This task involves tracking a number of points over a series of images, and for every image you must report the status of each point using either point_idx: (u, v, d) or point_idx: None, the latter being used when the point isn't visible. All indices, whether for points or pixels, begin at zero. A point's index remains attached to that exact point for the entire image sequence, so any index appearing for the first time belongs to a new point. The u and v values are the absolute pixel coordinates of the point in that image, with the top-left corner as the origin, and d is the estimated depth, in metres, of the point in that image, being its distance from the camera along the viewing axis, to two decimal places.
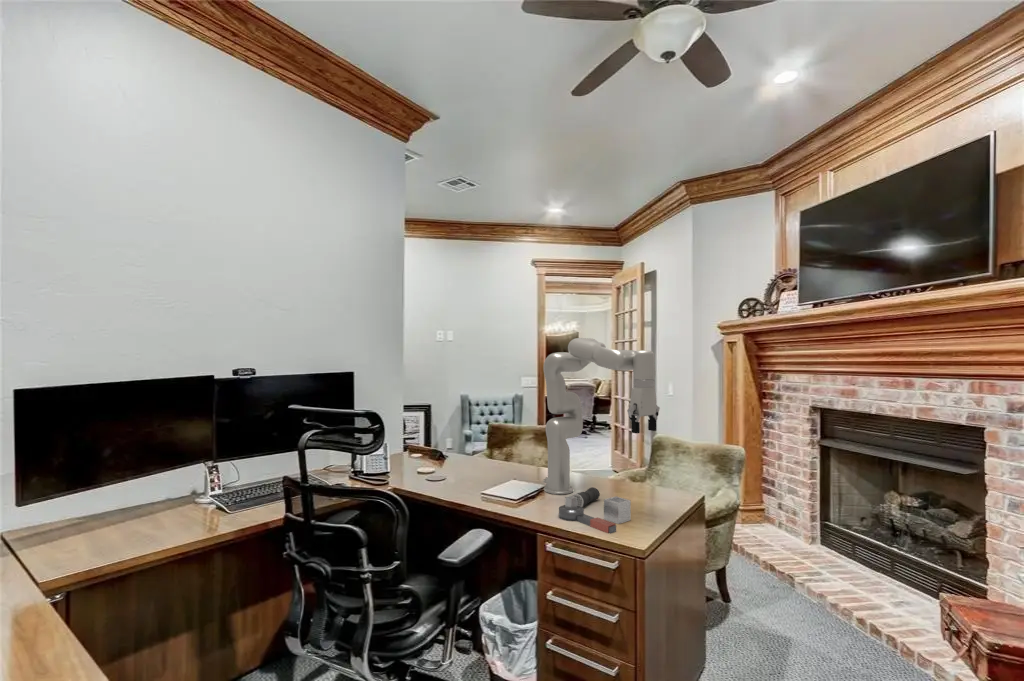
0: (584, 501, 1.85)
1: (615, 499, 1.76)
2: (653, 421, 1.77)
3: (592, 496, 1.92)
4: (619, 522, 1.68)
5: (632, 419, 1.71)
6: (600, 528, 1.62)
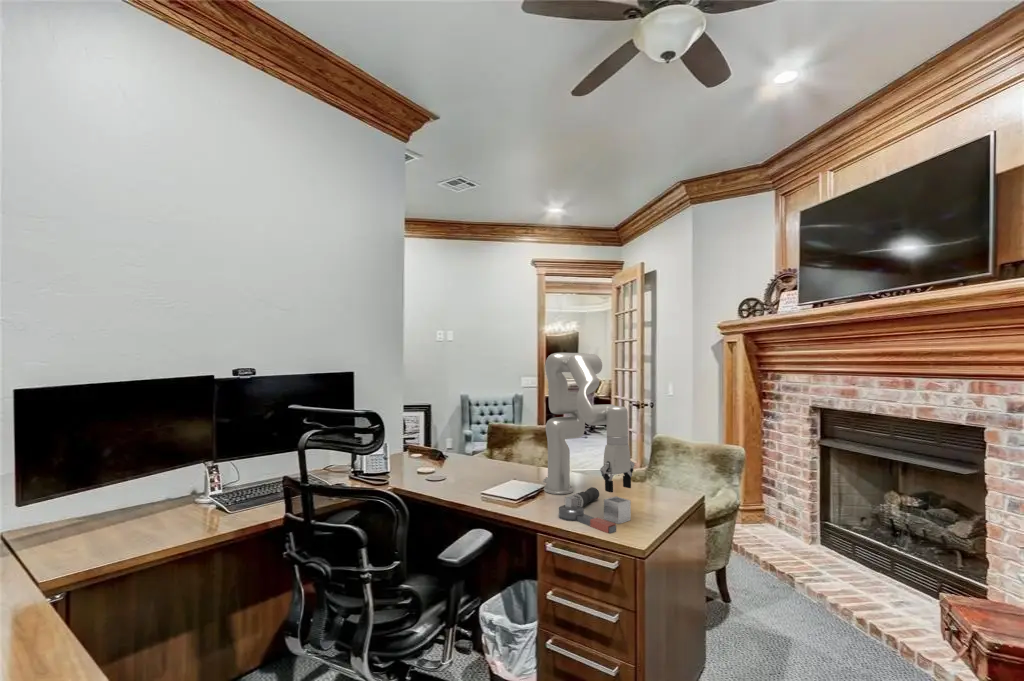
0: (584, 501, 1.85)
1: (615, 499, 1.76)
2: (628, 478, 1.75)
3: (592, 496, 1.92)
4: (619, 522, 1.68)
5: (605, 478, 1.69)
6: (600, 528, 1.62)
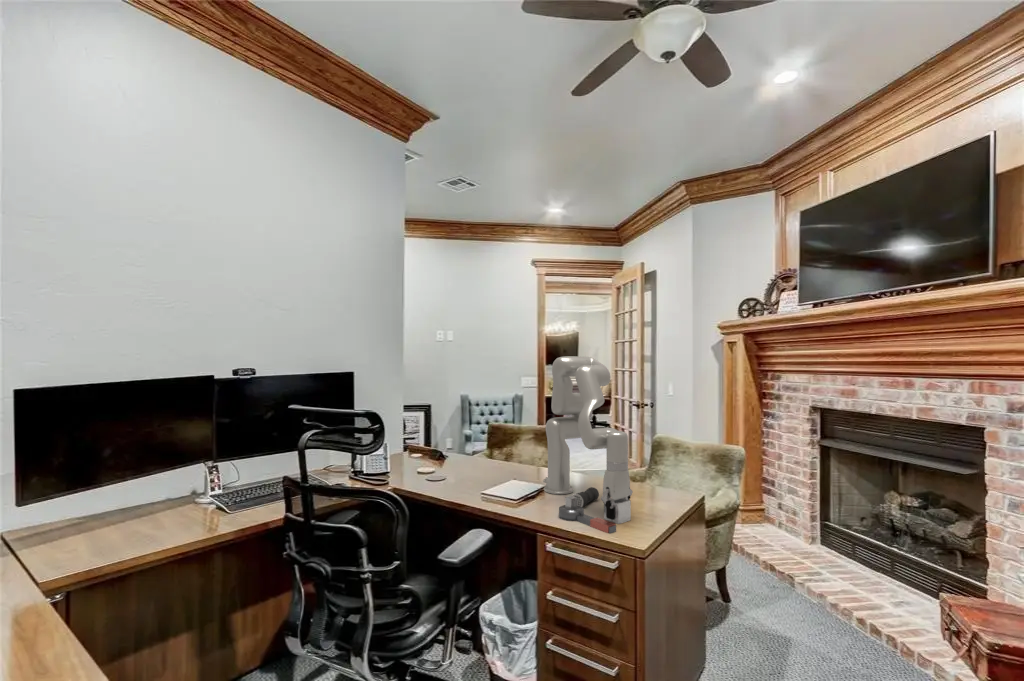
0: (584, 501, 1.85)
1: None
2: None
3: (592, 496, 1.92)
4: (619, 522, 1.68)
5: (607, 505, 1.69)
6: (600, 528, 1.62)
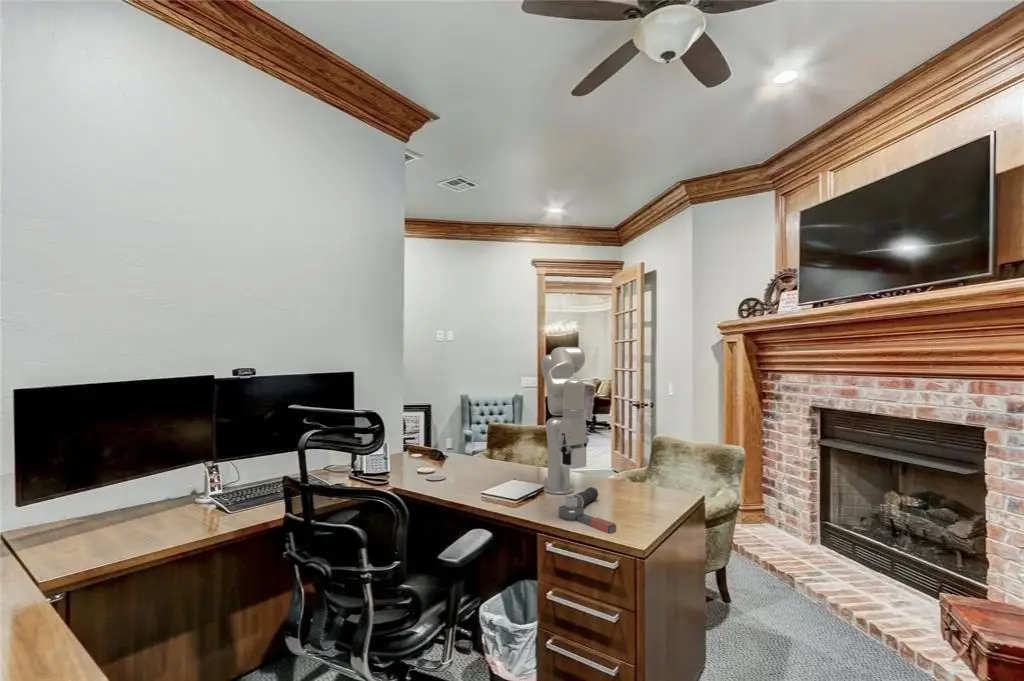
0: (584, 501, 1.85)
1: (572, 447, 1.79)
2: None
3: (591, 496, 1.92)
4: (574, 467, 1.72)
5: (562, 451, 1.73)
6: (600, 528, 1.62)
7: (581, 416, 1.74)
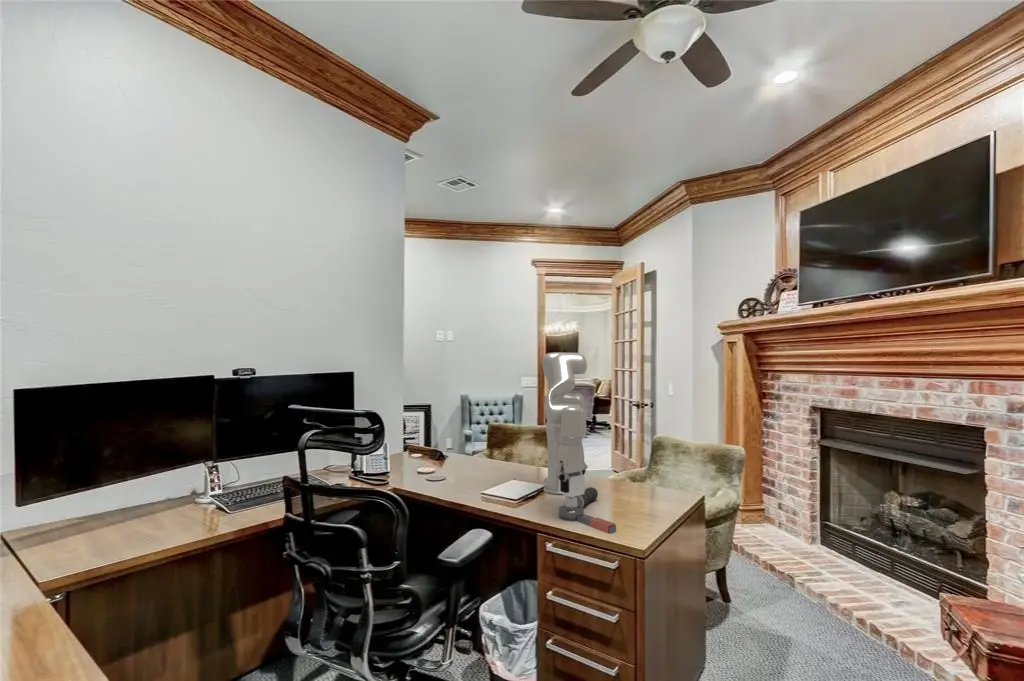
0: (584, 501, 1.85)
1: (570, 474, 1.79)
2: None
3: (591, 496, 1.92)
4: (572, 495, 1.71)
5: (560, 479, 1.73)
6: (600, 528, 1.62)
7: (579, 443, 1.74)
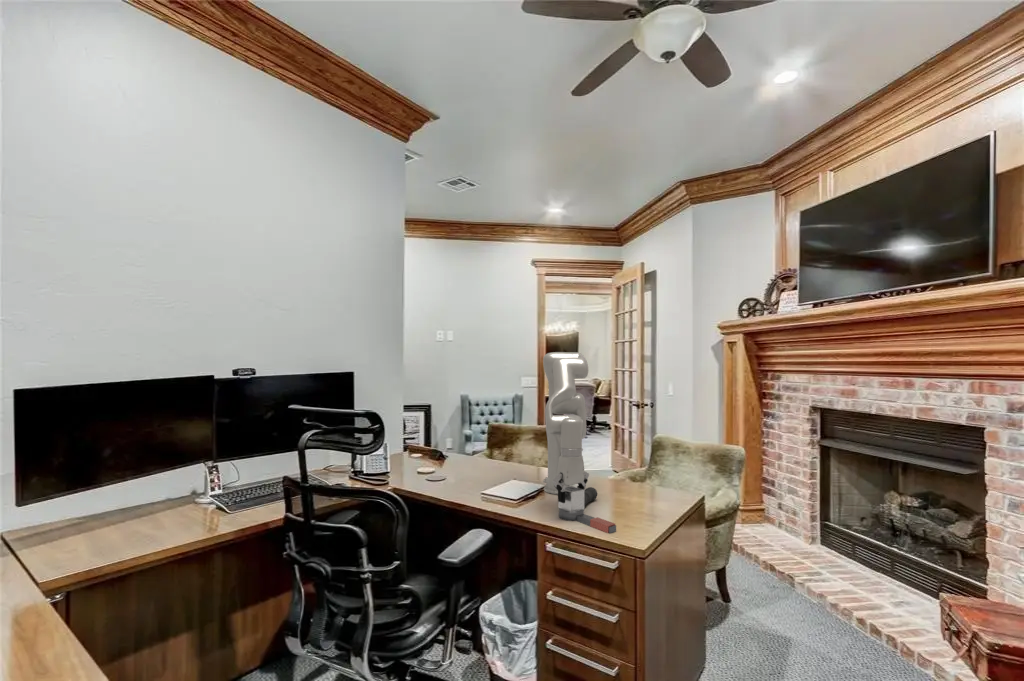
0: (584, 501, 1.85)
1: (570, 488, 1.79)
2: (581, 488, 1.78)
3: (591, 496, 1.92)
4: (572, 510, 1.71)
5: (558, 489, 1.72)
6: (600, 528, 1.62)
7: (579, 455, 1.74)
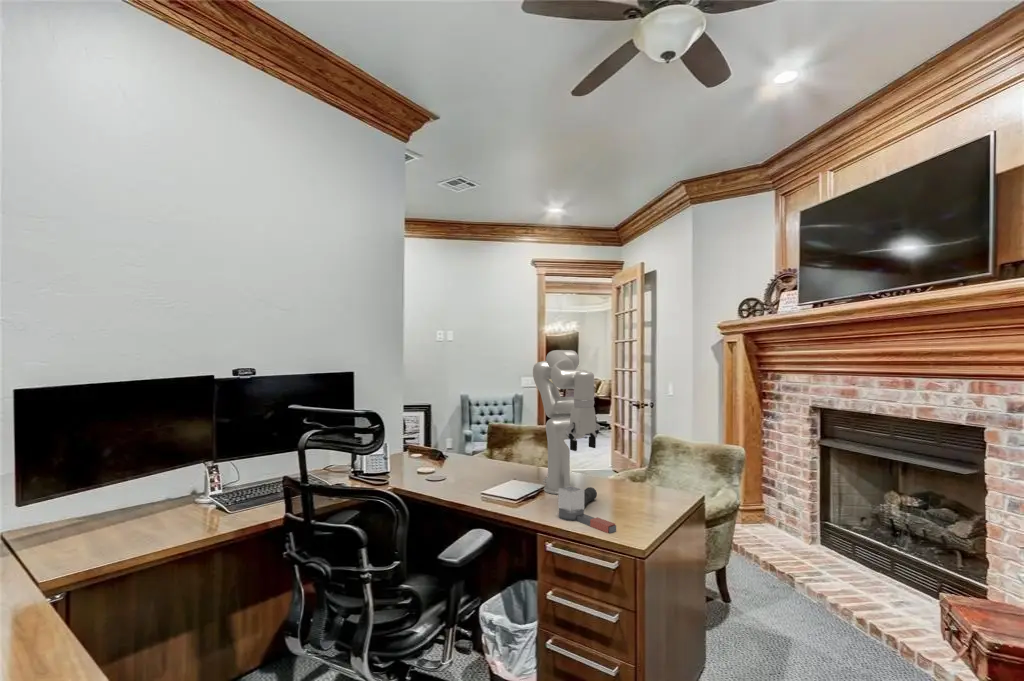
0: (584, 501, 1.85)
1: (570, 488, 1.79)
2: (593, 439, 1.86)
3: (591, 496, 1.92)
4: (572, 510, 1.71)
5: (570, 437, 1.81)
6: (600, 528, 1.62)
7: (591, 406, 1.82)
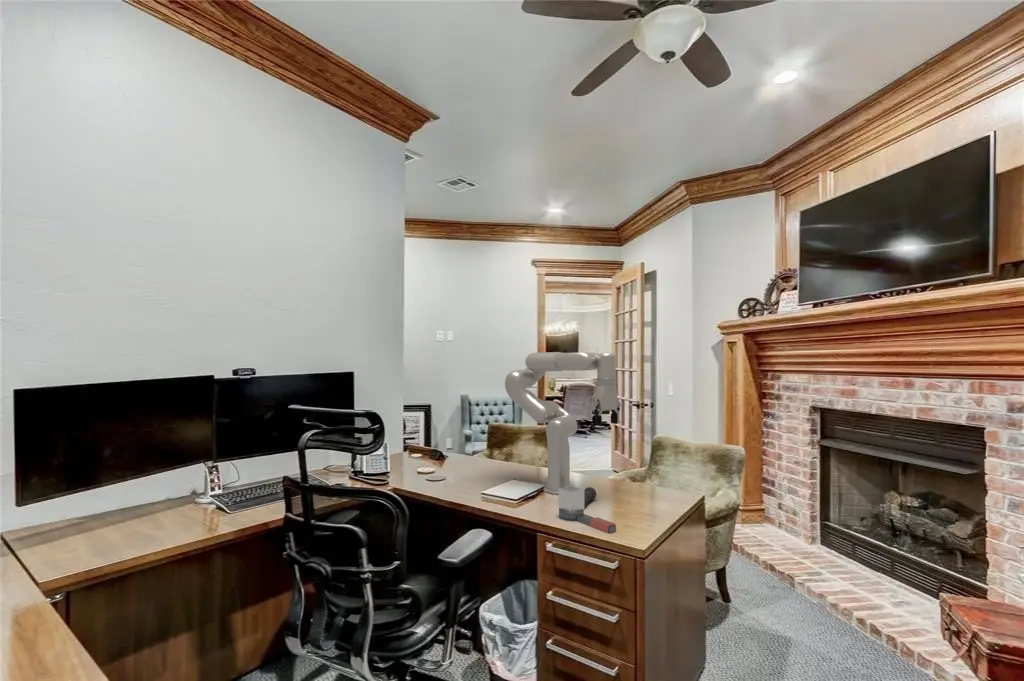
0: (584, 501, 1.85)
1: (570, 488, 1.79)
2: (615, 415, 2.02)
3: (590, 496, 1.92)
4: (572, 510, 1.71)
5: (595, 413, 1.96)
6: (600, 528, 1.62)
7: (613, 384, 1.98)
